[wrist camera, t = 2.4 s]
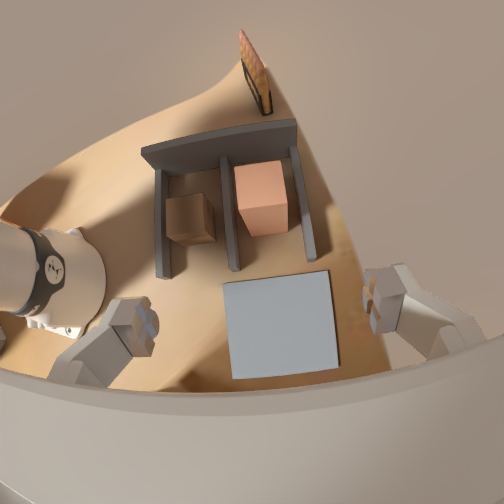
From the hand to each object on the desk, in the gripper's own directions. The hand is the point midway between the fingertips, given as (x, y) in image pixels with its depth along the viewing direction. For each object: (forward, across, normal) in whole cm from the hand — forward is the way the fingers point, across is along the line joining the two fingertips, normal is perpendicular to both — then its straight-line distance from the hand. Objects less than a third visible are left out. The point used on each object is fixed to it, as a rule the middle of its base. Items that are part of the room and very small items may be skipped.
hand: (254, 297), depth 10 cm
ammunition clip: (+45, -1, -5) cm, 45 cm away
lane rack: (+29, +5, +10) cm, 32 cm away
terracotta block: (+29, 0, +11) cm, 31 cm away
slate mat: (+18, 0, +22) cm, 28 cm away
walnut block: (+29, +10, +11) cm, 32 cm away
